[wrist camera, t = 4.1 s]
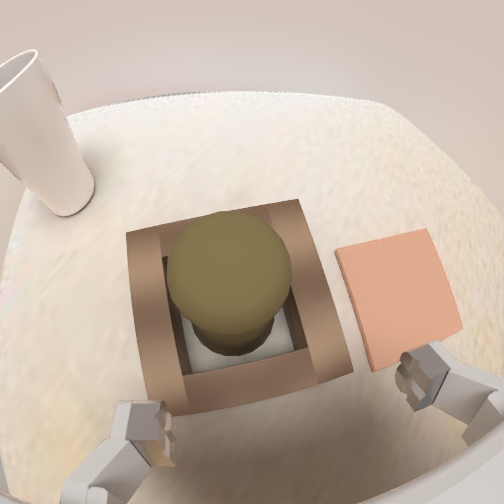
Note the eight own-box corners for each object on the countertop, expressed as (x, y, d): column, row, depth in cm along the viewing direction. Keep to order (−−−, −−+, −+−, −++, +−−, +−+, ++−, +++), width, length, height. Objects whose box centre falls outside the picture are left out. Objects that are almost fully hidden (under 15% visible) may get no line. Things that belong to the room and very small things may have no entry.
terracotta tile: (459, 329, 21) (463, 328, 20) (371, 371, 19) (375, 371, 19) (423, 231, 24) (426, 228, 24) (334, 251, 23) (336, 248, 22)
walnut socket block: (333, 372, 19) (353, 371, 16) (168, 410, 18) (153, 418, 14) (289, 225, 24) (298, 198, 20) (142, 255, 22) (126, 232, 18)
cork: (248, 261, 22) (259, 168, 12) (289, 331, 20) (341, 288, 10) (176, 297, 21) (126, 226, 11) (214, 371, 19) (189, 371, 9)
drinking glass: (115, 176, 25) (57, 43, 11) (76, 235, 22) (-22, 116, 9) (72, 161, 26) (13, 51, 12) (36, 213, 23) (-48, 112, 9)
